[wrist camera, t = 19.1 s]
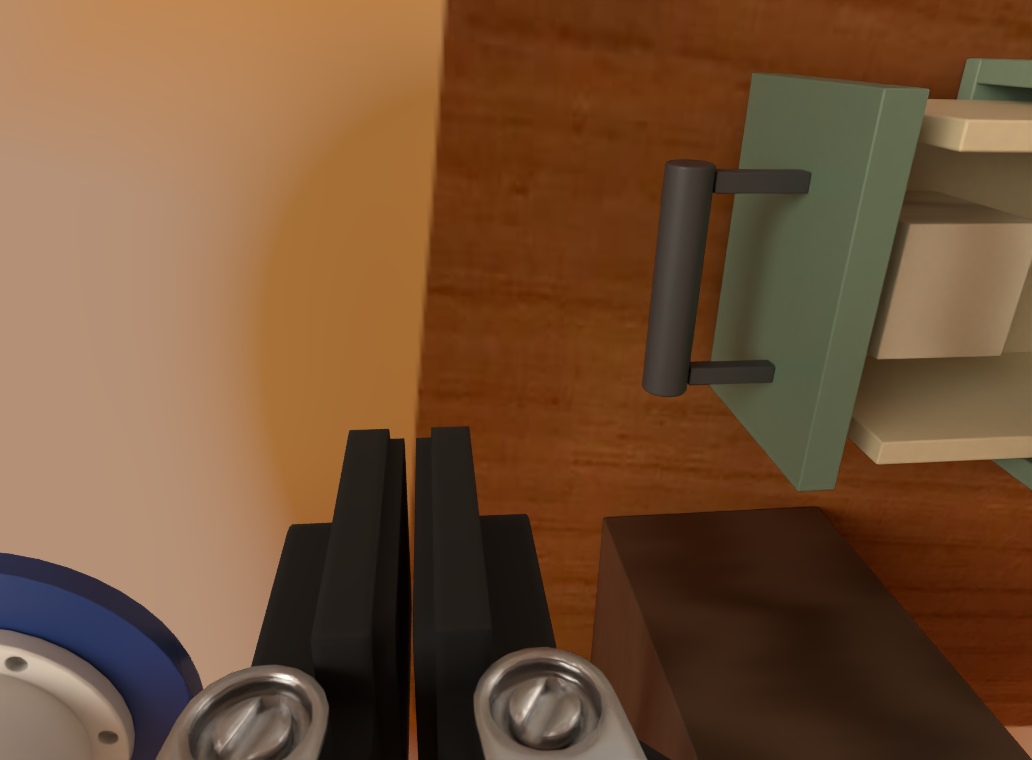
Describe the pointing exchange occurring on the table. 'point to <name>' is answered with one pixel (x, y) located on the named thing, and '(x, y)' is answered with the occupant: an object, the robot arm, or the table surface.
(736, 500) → the table surface
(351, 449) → the robot arm
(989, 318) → the block
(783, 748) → the stand
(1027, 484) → the cabinet
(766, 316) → the drawer
